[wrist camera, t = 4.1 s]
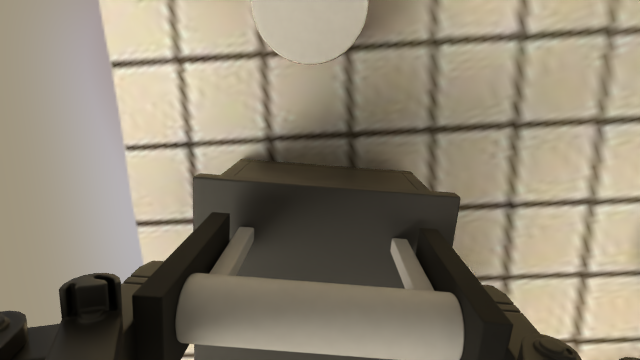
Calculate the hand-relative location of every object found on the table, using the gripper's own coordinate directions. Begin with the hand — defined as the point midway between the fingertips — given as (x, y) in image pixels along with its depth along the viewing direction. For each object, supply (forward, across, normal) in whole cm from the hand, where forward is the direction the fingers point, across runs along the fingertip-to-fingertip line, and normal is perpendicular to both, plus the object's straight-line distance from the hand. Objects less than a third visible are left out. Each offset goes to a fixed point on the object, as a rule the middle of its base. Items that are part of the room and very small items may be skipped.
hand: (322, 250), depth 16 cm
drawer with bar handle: (+2, 0, -5) cm, 6 cm away
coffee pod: (+11, -2, +11) cm, 15 cm away
